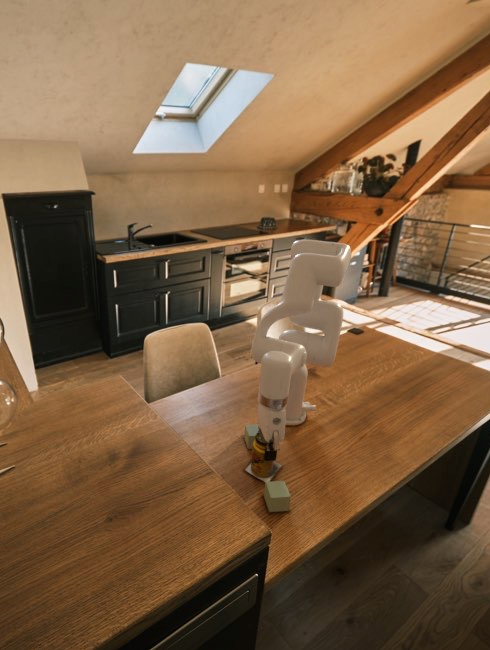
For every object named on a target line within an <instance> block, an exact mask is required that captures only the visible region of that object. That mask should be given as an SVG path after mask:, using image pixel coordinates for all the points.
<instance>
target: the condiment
mask: <svg viewBox="0 0 490 650" xmlns="http://www.w3.org/2000/svg"><path fill="white" fill-rule="evenodd" d="M272 438H273V437H272ZM270 446H273V442H270ZM265 448H267V447H266V440H265V438H264V436H263V434H262V431H260V432H258V433H257V434H256V436H255V441H254V443H253V449H251V450H252V452H251V460H250V463H249V465H248V466H246V468H245V469H244V471H245V472H247V473H248V474H250V475H252V476H253V477H255V478H257V479H259V480H261V481H263V482H264V483H265V482H271V480H272V479H273V478H274V476H275V475H276V474H277V472H278V471H279V470H280V469H281V467H282V464H280V463H278V462H276V461H265V460H264V453H265Z"/></svg>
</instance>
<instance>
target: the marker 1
mask: <svg viewBox="0 0 490 650" xmlns="http://www.w3.org/2000/svg"><path fill="white" fill-rule="evenodd" d="M258 426H259V424H258V423H256V424H244V434H243V440H244V442H245V445H246V447H247V450H253V443H254V441H255V436H256V434H257V433H258V431H260V430H259V429H258Z"/></svg>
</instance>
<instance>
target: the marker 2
mask: <svg viewBox="0 0 490 650" xmlns="http://www.w3.org/2000/svg"><path fill="white" fill-rule="evenodd" d="M263 497H264V501H265V504H266V507H267V510H268V513H277V512H289V509H290V503H291V498H292V497H291V494H290V492H289V489H288V486H287V484H286V482H285V480H277V481H276V480H274V481H269V482H264V491H263Z"/></svg>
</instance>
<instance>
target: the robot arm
mask: <svg viewBox="0 0 490 650" xmlns="http://www.w3.org/2000/svg"><path fill="white" fill-rule="evenodd" d="M290 259H291V262H290V264H289V269H288V272H287V276H286V279H285V282H284V283H285V284H284V288H283V291H282V295H281V300H280V301H279V302H278V303H277V304H276V305H274V306H273V307H272V308H270V309H269V310H267V312H265V314H264V315H263V316H262V317H261V318H260V320H259V322H258V324H257V326H256V329H255V333H254V336H253V339H252V344H251V349H250V355H251V358H252V360H253V361H254V362H256V363H258V364H260V375H259V383H258V390H257V391H258V393H257V403H258V405H257V413H256V419H257V424H259V426H258V429H259V430H260V431H262V434H263V436H264V438H265V440H266V447H267V448H265V453H264V460H265V461H274V462H276V460H277V456H278V452H279V451H281V444H280V443H283V442H284V441H285V435H286V434H285V433H286V426H299V425H301V424H303V423H304V422H305V420H306V418H307V413H308V412H316V411H317V405H316V404H313V405H312V404H310V402H309V401H304V399H305V393H306V387H307V382H308V373H309V372H308V368H307V365H306V364H309V365H311V366H312V365H313V366H317V367H321V368H329V367H331V366H332V365H333V364H334V363H335V359H336V357H337V352H338V347H339V340H340V337H341V331H342V326H343V321H344V309H343V305H341V304H340V303H339V302H337V301H336V302H335V301H333V300H332V301H330V300H326V299H322V293H323V289H324V286H326V287H331V288H337V287H340V286H341V284H342V283H343V282H344V279H345V278H346V275H347V271H348V269H349V266H350V265H351V264H350V263H351V260H352V249H351V247H350V245H349V244H347V243H343V242H335V241H325V240H317V239H298V240H295V241H293V243H292V245H291V248H290ZM286 318H288V319H289V322H290V324H292V325H295V326H297V327H301V328H305V329H309V330H310V329H312V330H315V331H321V332H322V333H323V334H317V333H312V332H308V331H303V330H298V329H286V330H284V331H282V332H281V333H280V334H279V337H278V338H275V337H271V336H267V335H268V333H269V330H270V328H271V327H272V326H273V325H274V324H275V323H276V322H278V321H281V320H283V319H286ZM260 431H258V432H260ZM272 437H273V438H272ZM270 442H273V446H270Z"/></svg>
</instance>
